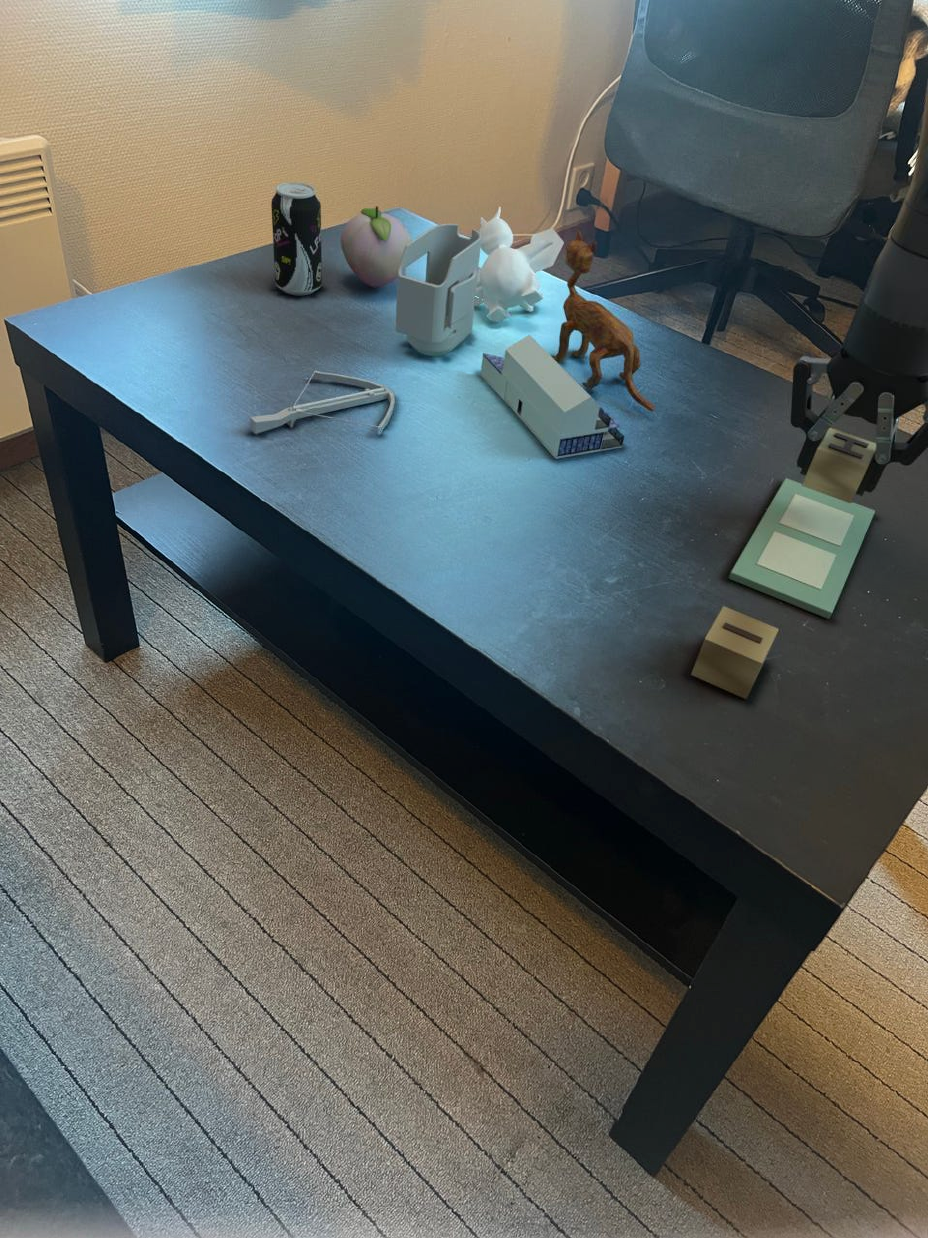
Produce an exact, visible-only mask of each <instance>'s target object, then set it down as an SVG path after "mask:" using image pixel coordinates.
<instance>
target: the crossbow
mask: <svg viewBox="0 0 928 1238" xmlns="http://www.w3.org/2000/svg"><path fill="white" fill-rule="evenodd" d="M312 379H314V380H320V381H321V380H322V381H329V382H334V383H340V384H346V385H351V386H356V387H360V388H365V389H364V391H360V392H354V393H350V394H345V395H340V396H336V397H331V398H327V399H321V400H316V401H311V402H306V403H302V404H301V403H298V401H299V400H300V398H301V396H302V395H303V393H304V392H305V390H306V388H307V387H308V385H309V383H310V382H311V380H312ZM384 400H387V401H388V402H389V407H388V409H387V412H386V413H385V416H384V418H383V419H382V421H381V422H380V423H379V425H373V424H368V423H364V422H363V423H362V422H358V421H352V420H347V419H342V418H337V417H332V416H327V415H322V414H326V413H330V412H335V411H339V410H344V409H347V408H353V407H357V406H361V405H366V404H371V403H376V402H380V401H384ZM395 401H396V397H395V392H394V391H392V390H391V389H390V388H389V387H388V386H387V385H384V384H381V383H378V382H377V381H376V382H375V381H373V380H372V381H371V380H368V379H363V378H359V377H354V376H350V375H349V376H348V375H343V374H337V373H329V372H324V371H320V370H313V371H312V375H311V376H310V378H309V380H308V382H307V383H306V384H305V386H304V388H303V389H302V391H301V392H300V394H299V396H298V398H297V399H296V401H295V402H294V404H293V405H292V406H290V407H286V408H284V409H282V410H280V411H279V412H277V413H275V414H274V413H273V414H266V415H265V414H264V415H256V416H250V417H249V428H250V430H251V431H252V432H253V433H254V434H255V435H257V434H260V433H262V432H266V431H270V430H273V429H276V428H278V427H282V426H283V425H285V424H287V426H289V427H290V428H293V427H294V424H295V423H297V421H296V420H299V419H302V418H307V417H312V416H317V417H323V418H326V419H327V418H328V419H332V420H336V421H337V420H338V421H343V422H348V423H352V424H353V423H354V424H358V425H363V426H368V427H373V428H377V435H381V434H382V432H383V430H384V429H385V428H386V427H387V425H388V424H389V422H390V419H391V418H392V415H393V413H394V408H395Z"/></svg>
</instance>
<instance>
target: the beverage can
mask: <svg viewBox="0 0 928 1238" xmlns="http://www.w3.org/2000/svg"><path fill="white" fill-rule="evenodd" d="M270 204H271V208H270V209H271V222H272V223H271V226H272V228H271V229H272V245H273V247H272V248H273V265H274V268H273V269H274V283H275V285H276V287H277V288H279V290H282V291H283V292H284V293H286V294H287V295H292V296H301V297H302V296H308V295H312V294H313V293H314V292H316V291H318V290H319V289H320V288H321V287H322V284H323V280H322V279H323V269H322V268H323V266H322V265H323V264H322V260H323V259H322V204H321V201H320V199H319V198H318V196H317V194H316V188H315V187H314V186H312V185H311V184H309V183H303V182H295V181H293V182H291V181H290V182H283V183H279V184H278V185H276V187H275V194H274V195H273V197H272V199H271V203H270Z"/></svg>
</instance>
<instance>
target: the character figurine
mask: <svg viewBox="0 0 928 1238" xmlns="http://www.w3.org/2000/svg"><path fill="white" fill-rule="evenodd" d="M501 211H502V207H501V206H498V209H497V211H496V213H495V215H493V217H492V218H491V219H490V220H488V221H486V220H485V219H484V218H483V217H482V216H481V217H480V218H479V219H480V221H479V222H480V229H479V230H478V232H479V233H480V234H481V236H482V239H481V248H480V250H481V251H482V252H483V253H484V254H485V255H487V257H486V259H485V260H484V262H483V264H482V265H481V267H478V276H477V286H476V295H475V296H477V297H479V298H477V297H475V305H474V307H479V306H480V305H482V304H483V305H484V307H485V308H486V309H487V310H488V311H489V313H488V314H487V315H486V317H487V318H488V319H489V320H490V321H493V322H494V323H495V324H498V323H501V322H503V321H505V320H507V319H509V318H511V314H510V312H509V311H508V310H509V309H510V308H511V309H513V308H515V307H520V308H521V309H523V310H524V311H527V312H529V313H532V312H533V311H534V305H535V304H537V303H539V302H541V301H543V299H544V295H543V294H542V293H540V289H541V283H540V280H539V278H538V277H537V275H536V273H538V272H541V271H543V270H546V269H548V268H550V267H553V266H554V264H555V262H556V260H557V258H558V256H559V254H560V252H561V250H562V248H563V246H564V244H565V242H564V241H563V239H562V238H561V236H560V235H559V234H558V233H557V232H556V230H555V228H553V227H551V228H548V229H545V230H542V231H540V232H539V231H538V232H536V233H533V234H532V235H531V237H530V242H529V243H528V244H524V245H523V246H520V247H519V248H512V245H513V243H514V234H513V232H512V230H511V227H510V226H509V224H508V223H507V222H506V221H505V220H504V219H502V218H500V217H501ZM482 299H483V300H482Z"/></svg>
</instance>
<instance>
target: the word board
mask: <svg viewBox="0 0 928 1238" xmlns="http://www.w3.org/2000/svg"><path fill="white" fill-rule="evenodd" d="M802 484H803V483H801V482H799V481H795V480H792V479H790V478H787V477H786V478H784V479H783V482H782V483H781V485H780V487H779V488H778V491H777V492H776V494H775V495H774V497H773V499H772V500H771V502H770V504H769V505H768V507H767V509H766V511H765V513H764V514H763V516H762V518H761V520H760V521H759V523H758V525H757V526H756V528H755V530H754V532H753V533H752V535H751V536H750V538H749V540H748V541H747V544H746V545H745V546H744V548H743V550H742V552H741V554H740V555H739V557H738V559H737V560H736V563H735V564H734V566H733V568H732V569H731V571H730V572H729V575H728V580H731V581H734V582H736V583H738V584H741V585H743V586H746V587H748V588H751V589H753V590H756V591H758V592H761V593H763V594H765V595H768V596H771V597H773V598H775V599H777V600H780V601H784V602H785V603H788V604H791V605H792V606H795V607H797V608H800V609H802V610H804V611H807V612H810V613H812V614H815V615H816V616H817V615H818V616H820V617H822V618H825V619H827V620H830V619H831V616H832V615H833V612H834V610H835V607H836V606H837V604H838V601H839V598H840V596H841V594H842V591H843V588H844V586H845V583H846V582H847V579H848V577H849V575H850V572H851V570H852V568H853V565H854V562H855V560H856V559H857V555H858V553H859V551H860V548H861V546H862V543H863V541H864V539H865V536H866V534H867V531H868V529H869V527H870V525H871V522H872V520H873V518H874V515H875V513H876V510H875V509H872V508H869V507H866V506H864V505H861V504H859V503H855V502H853V501H852V502H851V503H847V502H845V501H842V500H839V499H836V498H834V497H831V496H828V495H826V494H823V493H820V492H817V491H815V490H812V489H809V488H807V487H804V486H802Z"/></svg>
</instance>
